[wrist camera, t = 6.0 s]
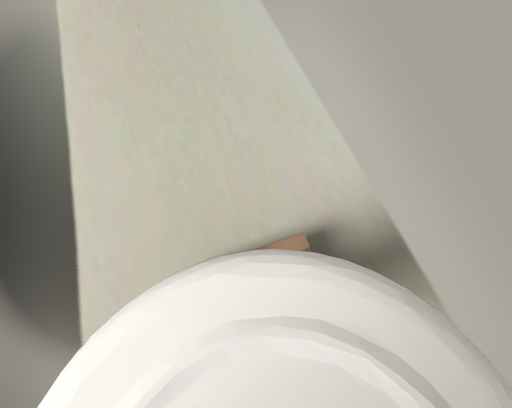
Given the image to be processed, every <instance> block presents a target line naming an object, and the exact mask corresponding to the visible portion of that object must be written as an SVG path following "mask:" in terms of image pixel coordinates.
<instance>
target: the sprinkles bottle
mask: <svg viewBox="0 0 512 408" xmlns="http://www.w3.org/2000/svg"><path fill="white" fill-rule="evenodd" d="M38 408H512V388H511V387H510V386H509V384H508V383H507V382H506V381H505V379H504V378H503V377H502V375H501V374H500V373H499V372H498V370H497V369H496V368H495V366H494V365H493V364H492V363H491V362H490V360H489V359H488V358H487V357H486V356H485V355H484V354H483V353H482V352H481V351H480V350H479V349H478V347H477V346H476V345H475V344H474V343H473V342H472V341H471V340H470V339H469V338H468V337H467V336H466V335H465V334H464V333H462V332H461V331H460V330H459V329H458V328H457V327H456V326H455V325H454V324H453V323H452V322H451V321H450V320H449V319H448V318H447V317H445V316H444V315H443V314H442V313H441V312H439V311H438V310H437V309H435V308H434V307H433V306H432V305H430V304H429V303H427V302H425V301H424V300H422V299H421V298H419V297H418V296H416V295H414V294H413V293H412V292H411V291H410V290H409V289H407V288H405V287H403V286H401V285H399V284H397V283H395V282H394V281H392V280H390V279H388V278H386V277H384V276H382V275H381V274H379V273H377V272H375V271H372V270H370V269H367V268H365V267H362V266H360V265H357V264H355V263H352V262H350V261H347V260H344V259H340V258H336V257H332V256H327V255H323V254H319V253H315V252H306V251H294V250H283V249H262V250H252V251H246V252H239V253H234V254H230V255H225V256H220V257H216V258H213V259H210V260H206V261H204V262H201V263H199V264H196V265H194V266H191V267H189V268H186V269H184V270H182V271H180V272H177V273H175V274H173V275H171V276H169V277H167V278H165V279H164V280H162V281H160V282H159V283H157V284H156V285H154V286H152V287H151V288H149V289H148V290H146V291H145V292H143V293H142V294H140V295H139V296H137V297H136V298H134V299H133V300H131V301H130V302H129V303H128V304H127V305H125V306H124V307H123V308H122V309H121V310H119V311H118V312H117V313H116V314H115V315H113V316H112V317H111V318H110V319H109V320H108V321H107V322H106V323H105V324H104V325H103V326H102V327H101V328H100V329H98V330H97V331H96V332H95V333H94V334H93V335H92V336H91V337H90V338H89V340H88V341H87V342H86V343H85V344H84V345H83V346H82V347H81V348H80V349H79V351H78V352H77V353H76V354H75V356H74V357H73V358H72V359H71V361H70V362H69V363H68V365H67V366H66V367H65V368H64V370H63V371H62V372H61V373H60V375H59V376H58V378H57V379H56V381H55V382H54V384H53V385H52V387H51V388H50V390H49V391H48V393H47V394H46V396H45V398H44V399H43V400H42V402H41V403H40V405H39V406H38Z"/></svg>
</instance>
